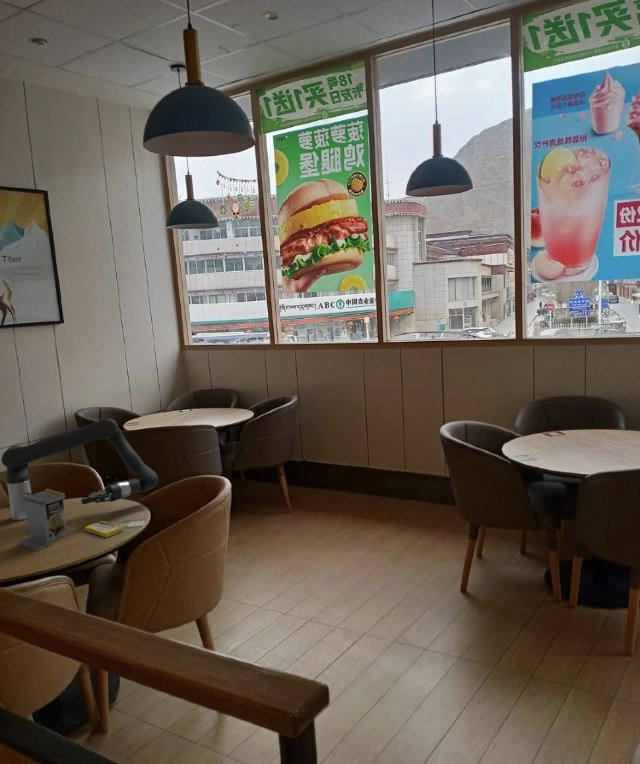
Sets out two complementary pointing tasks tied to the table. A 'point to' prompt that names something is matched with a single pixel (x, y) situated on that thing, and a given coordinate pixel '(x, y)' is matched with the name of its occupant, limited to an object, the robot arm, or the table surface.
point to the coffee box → (56, 520)
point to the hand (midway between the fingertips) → (82, 501)
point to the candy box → (104, 529)
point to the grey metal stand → (39, 518)
